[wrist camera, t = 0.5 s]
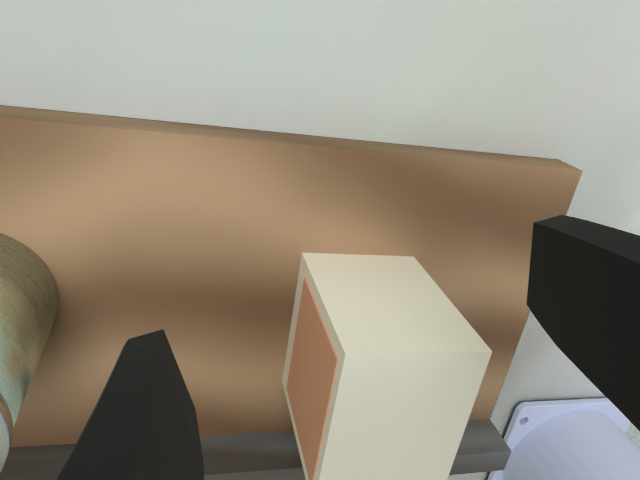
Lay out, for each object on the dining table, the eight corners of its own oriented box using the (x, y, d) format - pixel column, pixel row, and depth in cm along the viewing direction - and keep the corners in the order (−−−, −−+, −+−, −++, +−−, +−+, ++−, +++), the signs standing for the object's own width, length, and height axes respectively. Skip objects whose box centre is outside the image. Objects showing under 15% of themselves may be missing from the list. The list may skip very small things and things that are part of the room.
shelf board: (467, 417, 28) (503, 472, 25) (-88, 449, 21) (-134, 530, 18) (558, 159, 22) (619, 188, 19) (-169, 88, 15) (-259, 116, 12)
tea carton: (280, 381, 22) (311, 509, 16) (300, 252, 19) (343, 354, 14) (382, 378, 23) (441, 495, 18) (413, 256, 20) (492, 351, 15)
